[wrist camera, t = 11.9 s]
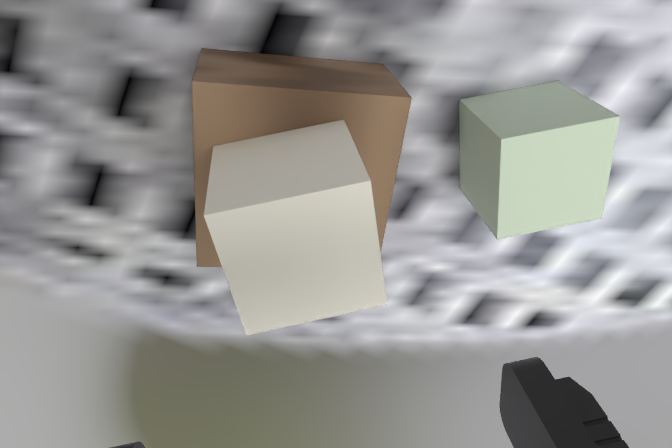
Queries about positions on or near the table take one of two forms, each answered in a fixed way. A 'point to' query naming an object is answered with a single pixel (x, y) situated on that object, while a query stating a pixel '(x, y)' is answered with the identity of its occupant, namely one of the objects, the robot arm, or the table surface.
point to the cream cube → (295, 227)
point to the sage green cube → (535, 157)
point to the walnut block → (294, 115)
